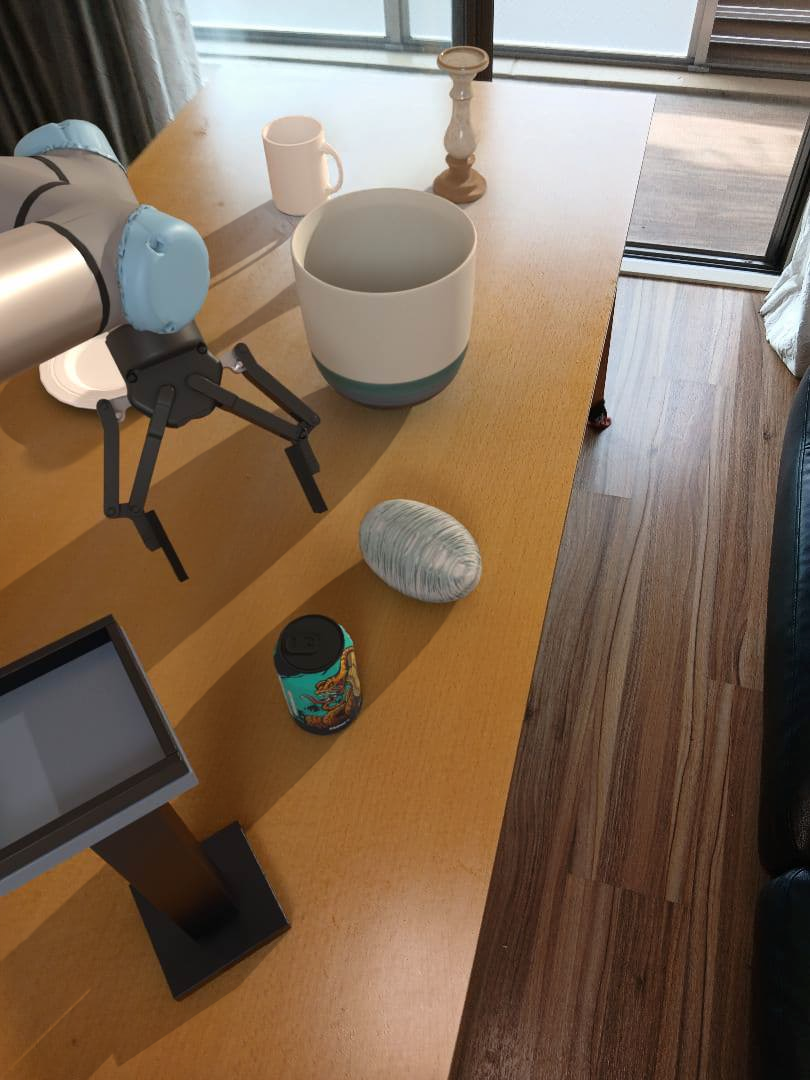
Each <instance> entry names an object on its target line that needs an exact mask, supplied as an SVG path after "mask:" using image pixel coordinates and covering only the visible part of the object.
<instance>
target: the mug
mask: <svg viewBox="0 0 810 1080" xmlns="http://www.w3.org/2000/svg"><path fill="white" fill-rule="evenodd" d="M324 129H325V128H324V125H323V123H322V122H321V121H320V120H318V119H317V118H315V117H313V116H310V115H304V114H302V115H301V114H290V115H284V116H279V117H277V118H274V119H272V120H270V121H269V122H267V123H266V124H265V125H264V126H263V127H262V129H261V138H262V144H263V149H264V150H263V151H264V155H265V162H266V167H267V173H268V180H269V185H270V191H271V198H272V201H273V204H274V206H275V208H276V209H278V211H280V212H281V213H283V214H286V215H289V216H292V217H304V216H305V215H306V214H307V213H309V212H310V211H311V210H313V209H314V208H315V207H317V206H319V205H320V204H322V203H324V202H326V201H328V200H330V199H332V198H331V195H334V194H336V193H338V192H339V191H340V190H341V189H342V187H343V184H344V183H343V182H344V168H343V165H342V162H341V158H340V156H339V154H338V152H337V151H336V150H335V148H334V147H333V146H331V144H329V143H328V142H326V140H325V131H324ZM327 155H330V156H332V158H333V159H334V160H335V162H336V166H337V170H338V179H337V183H336V184H335V185H334V186H332V185H331V184H330V175H329V167H328V165H329V164H328V158H327V157H328V156H327Z"/></svg>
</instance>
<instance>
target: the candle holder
mask: <svg viewBox="0 0 810 1080" xmlns="http://www.w3.org/2000/svg"><path fill="white" fill-rule="evenodd" d="M489 57H490V56H489V54H488V53H487V51H485V50H484V49H482V48H479V47H476V46H472V45H470V46H469V45H459V46H458V45H456V46H452V47H447V48H445V49H443V50H442V51H440V52H439V54H437V57H436V66H437V68H438V69H439V70H440V71H442V72H444V73H447V74H448V77H449V78H450V79H451V81H452V87H451V89H450V91H449V94H448V95H449V98H450V99H452V111H451V117H450V118H451V119H450V122H449V124H448V126H447V128H446V131H445V133H444V136H443V147H444V149H445V151H446V153H447V154H446V156H445V159H444V160H445V164H447V166H448V168H446V169H445V170H443V171H442V172H441V173H440V174H438V175H437V176H436V177H435V178H434V180H433V183H432V190H433V194H434V195H437V196H439V197H442V198H444V199H446V200H448V201H450V202H452V203H453V204H464V203H465V204H466V203H471V202H474V201H476V200H479V199H480V198H482V197H483V196H484V195H485V193H486V192H487V188H488V186H487V185H488V184H487V180H486V178H485V177H484V176H483V175H482V174H480V172H479V171H477V170H476V169H474V168H472V167H473V165H474V164H475V162H476V155H475V154H474V153H475V151H476V150H477V148H478V145H479V136H478V132H477V128H476V127H475V124H474V122H473V118H472V99H473V98H474V97H475V95H476V92H475V90H474V88H473V86H472V82H473V80H474V78H476V76H477V74H478V73H480V72H483V71H484V70H486V69H487V67H488V66H489V63H490V58H489Z"/></svg>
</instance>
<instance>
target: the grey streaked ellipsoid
mask: <svg viewBox="0 0 810 1080" xmlns="http://www.w3.org/2000/svg"><path fill="white" fill-rule="evenodd" d="M358 544H359V545H358V546H359V550H360V551H361V555H362V556H363V559H364V561H365V563H366V564H367V566H368V567H369V568H370V569H371V570H372V572H374V574H375V575H377V577H379V578H380V579H381V581H383V582H384V583H386V584H387V585H388V586H389V587H391V588H392V589H394V590H396V592H399V593H401V594H402V595H404V596H407V597H409V598H413V599H416V600H419V601H421V602H427V603H435V604H443V603H445V604H446V603H451V602H455V601H458V600H461V599H463V598H465V597H467V596H469V595H470V594H471V593H472V592H473V591H474V590H475V589H476V587H477V586H478V584H479V582H480V579H481V577H482V570H483V561H482V556H481V553H480V550H479V547H478V544H477V542H476V540H475V539H474V537H473V536H472V534H471V533H470V532H469V531H468V529H467V528H466V527H465V526H464V525H463V524H462V523H461V522H459V520H457V519H456V518H455V517H453V516H452V515H451V514H449V513H447V512H445V511H444V510H442V509H439V508H438V507H435V506H433V505H429V504H426V503H423V502H420V501H416V500H411V499H403V498H398V499H390V500H385V501H382V502H379V503H377V504H375V505H374V506H373V507H372V508H370V509H369V510H368V511H367V512H366V513H365V515H364V516H363V518H362V519H361V522H360V524H359V530H358Z"/></svg>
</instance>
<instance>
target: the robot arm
mask: <svg viewBox="0 0 810 1080" xmlns="http://www.w3.org/2000/svg"><path fill="white" fill-rule="evenodd" d="M13 151H14V152H13V156H8V155H7V156H5V155H3V156H1V155H0V385H2V384H4V383H7V382H8V381H10V380H12V379H14V378H16V377H18V376H20V375H22V374H24V373H26V372H28V371H30V370H32V369H35V368H36V367H39V366H40V364H42V363H44V362H46V361H48V360H50V359H52V358H54V357H56V356H58V355H60V354H62V353H64V352H66V351H68V350H70V349H72V348H74V347H76V346H78V345H80V344H82V343H84V342H86V341H88V340H90V339H92V338H94V337H96V336H98V335H101V334H103V333H105V332H108V333H109V334H108V335H107V336H106V341H105V344H106V346H107V348H108V350H109V352H110V354H111V356H112V358H113V360H114V362H115V364H116V366H117V368H118V370H119V372H120V374H121V376H122V378H123V380H124V382H125V384H126V387H127V395H124V396H121V397H117V398H114V399H110V400H107V399H100V400H99V401H98V402H97V404H96V410H95V411H96V413H97V417H98V419H99V421H100V424H101V427H102V429H103V507H102V508H103V515H104V516H105V517H106V518H107V519H110V520H115V519H129V520H131V521H132V524H133V525H134V527H135V529H136V531H137V533H138V535H139V536H140V539H141V541H142V542H143V544H144V546H145V548H146V549H147V550H148V551H150V552H151V553H153V552H155V551H157V550H159V549H161V550H162V552H163V554H164V555H165V557H166V559H167V561H168V563H169V565H170V567H171V569H172V571H173V573H174V575H175V577H176V579H177V580H178V582H180V583H184V582H186V581H188V580H190V578H189V576H188V574H187V572H186V570H185V568H184V566H183V564H182V561H181V560H180V557H179V556H178V553H177V551H176V550H175V548H174V546H173V544H172V542H171V540H170V538H169V536H168V534H167V533H166V530H165V528H164V526H163V525H162V523H161V520H160V519H159V516H158V515H157V512H156V510H154V509H150V510H148V511H145V505H146V502H147V498H148V493H149V490H150V486H151V483H152V479H153V475H154V471H155V467H156V463H157V459H158V456H159V453H160V448H161V444H162V441H163V438H164V435H165V431H166V428H168V429H175V430H178V429H180V428H182V427H185V426H186V425H187V424H188V423H190V421H193V420H200V419H202V418H205V417H207V416H210V415H211V414H212V413H213V412H214V411H215V409H216V408H217V409H219V410H221V411H223V412H227V413H229V414H232V415H234V416H236V417H238V418H240V419H242V420H244V421H246V422H248V423H250V424H252V425H254V426H256V427H258V428H260V429H263V430H265V431H266V432H268V433H271V434H273V435H275V436H277V437H279V438H281V439H283V440H284V441H287V442H289V443H290V446H287V447H285V448H283V451H284V453H285V455H286V457H287V459H288V461H289V463H290V466H291V468H292V470H293V472H294V474H295V476H296V478H297V480H298V483H299V485H300V487H301V490H302V492H303V493H304V496H305V498H306V500H307V502H308V504H309V506H310V508H311V510H312V513H313V514H319V515H320V514H321V515H322V514H323V513H325V512H327V511H329V508H328V505H327V504H326V501H325V500H324V497H323V495H322V492H321V491H320V489H319V486H318V485H317V482H316V480H315V478H314V475H316V474H318V473H320V472H321V465H320V463H319V461H318V459H317V456H316V454H315V453H314V449H313V448H312V446H311V443H310V441H309V436H310V433H312V431H313V430H314V429H316V427H317V426H319V425H320V424H321V422H322V421H321V420H322V418H321V416H320V415H319V414H318V413H317V412H316V411H315V410H313V408H311V407H310V406H309V405H308V404H306V403H305V402H304V401H303V400H302V399H301V398H300V397H298V396H297V395H296V394H295V393H294V392H292V391H291V390H290V389H289V388H288V387H286V386H285V385H284V384H283V383H282V382H280V380H278V379H277V378H276V377H274V376H273V375H272V374H271V372H269V371H268V370H266V369H265V368H264V367H263V366H262V365H260V364H259V363H258V361H257V359H256V358H255V356H254V355H253V353H252V351H251V350H250V348H249V347H248V345H247V344H246V343H244V342H238V343H236V344H235V345H234V347H232V349H230V350H228V351H226V352H224V353H223V354H221V355H220V356H215V355H214V354H213V353H212V352H211V351H210V350H209V348H208V346H207V344H206V342H205V339H204V337H203V335H202V333H201V330H200V328H199V327H198V324H197V323H196V320H195V318H196V317H197V316H198V315H199V313H200V311H201V310H202V307H203V306H204V304H205V301H206V299H207V295H208V293H209V287H210V283H211V281H210V279H211V272H210V268H209V267H210V261H209V260H210V255H209V252H208V248H207V246H206V243H205V241H204V239H203V238H202V236H201V235H200V233H199V232H198V230H196V228H194V226H192V225H191V224H189V222H186V221H184V220H182V219H180V218H177V217H176V216H175V217H174V216H172V215H170V214H168V213H165V212H163V211H160V210H158V209H157V208H156V207H155V206H153V205H150V204H139V201H138V199H137V197H136V195H135V193H134V190H133V188H132V187H131V184H130V182H129V181H130V180H129V177H128V174H127V171H126V169H125V167H124V165H123V164H121V162H120V161H119V159H118V158H117V156H116V154H115V152H114V150H113V148H112V147H111V145H110V142H109V141H108V139H107V137H106V135H105V133H104V132H103V131H102V130H101V129H100V128H99V127H98V126H97V125H96V124H93V123H91V122H89V121H87V120H83V119H66V120H63V121H61V122H58V123H55V122H50V123H47V124H44V125H42V126H40V127H38V128H35V129H33V130H32V131H30V132H29V133H27V134H25V135H24V136H23V137H22V138H21V139H20V140H19V141H18V143H17V144H16V146H15V148H14V150H13ZM224 369H228V370H230V372H232V373H233V374H235V375H240V374H241V375H242V376H243V377H244V378H245V380H247V382H249V383H250V384H251V385H253V386H254V387H255V388H256V389H257V390H259V391H260V392H261V393H262V394H263V395H264V396H265V397H267V398H268V399H269V400H271V401H272V403H274V404H275V405H276V406H278V407H279V408H280V409H282V410H283V411H284V412H285V413H286V414H287V415H289V416H290V417H291V418H292V419H293V420H294V421H296V422H297V423H296V424H294V423H293V422H291V421H288V420H286V419H285V418H283V417H280V416H278V415H276V414H275V413H273V412H270V411H268V410H267V409H264V408H262V407H260V406H258V405H256V404H254V403H251V402H250V401H248V400H246V399H244V398H242V397H240V396H238V394H236V393H234V392H233V391H231V390H229V389H227V388H225V387H222V386H221V385H222V379H223V373H224ZM129 408H131V409H132V410H134V411H136V412H138V413H139V414H141V415H143V416H145V417H146V418H148V419H149V423H148V427H147V430H146V435H145V440H144V442H143V447H142V450H141V454H140V457H139V461H138V466H137V469H136V473H135V477H134V481H133V484H132V487H131V492H130V495H129V499H128V502H122V503H121V502H120V447H121V446H120V445H121V444H120V442H121V441H120V440H121V439H120V437H121V436H120V426H119V425H121V424H123V423H124V422H125V420H126V411H127V410H128V409H129Z"/></svg>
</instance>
